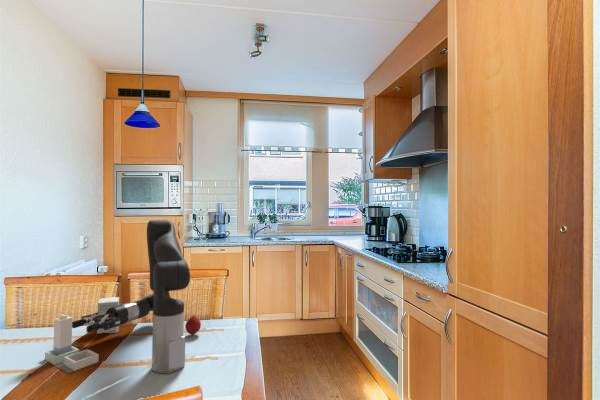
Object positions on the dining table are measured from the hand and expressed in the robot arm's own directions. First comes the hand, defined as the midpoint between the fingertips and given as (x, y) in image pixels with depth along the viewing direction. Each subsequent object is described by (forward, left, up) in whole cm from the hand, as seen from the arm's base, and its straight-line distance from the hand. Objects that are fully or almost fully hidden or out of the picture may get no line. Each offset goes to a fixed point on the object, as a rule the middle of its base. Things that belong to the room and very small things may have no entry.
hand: (79, 327), depth 114 cm
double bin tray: (-5, +4, -9) cm, 11 cm away
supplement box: (+13, -17, -9) cm, 23 cm away
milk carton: (0, +5, -8) cm, 10 cm away
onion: (-19, -33, -9) cm, 39 cm away
